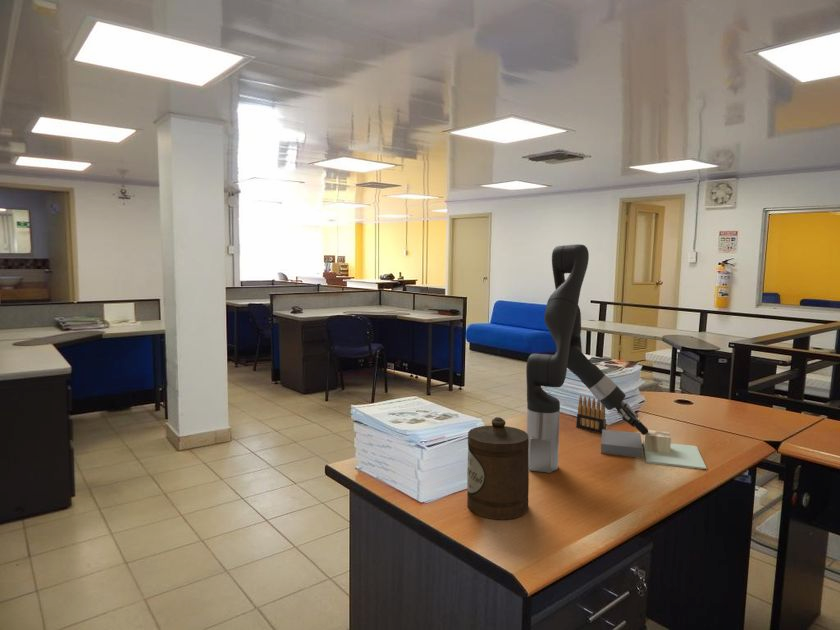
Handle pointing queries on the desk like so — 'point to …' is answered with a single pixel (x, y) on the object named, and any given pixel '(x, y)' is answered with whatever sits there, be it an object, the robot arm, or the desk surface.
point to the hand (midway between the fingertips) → (646, 432)
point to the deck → (621, 443)
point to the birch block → (657, 441)
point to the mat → (677, 456)
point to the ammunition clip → (591, 415)
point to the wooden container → (498, 471)
